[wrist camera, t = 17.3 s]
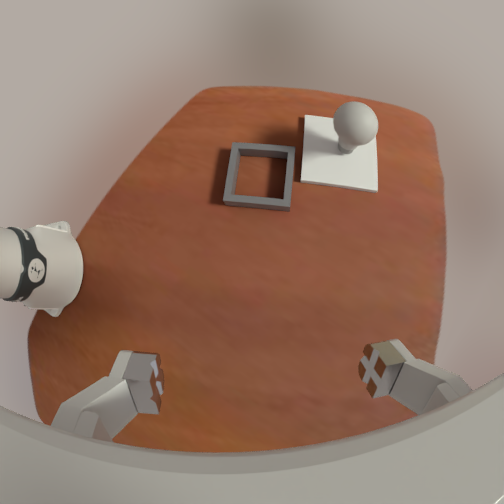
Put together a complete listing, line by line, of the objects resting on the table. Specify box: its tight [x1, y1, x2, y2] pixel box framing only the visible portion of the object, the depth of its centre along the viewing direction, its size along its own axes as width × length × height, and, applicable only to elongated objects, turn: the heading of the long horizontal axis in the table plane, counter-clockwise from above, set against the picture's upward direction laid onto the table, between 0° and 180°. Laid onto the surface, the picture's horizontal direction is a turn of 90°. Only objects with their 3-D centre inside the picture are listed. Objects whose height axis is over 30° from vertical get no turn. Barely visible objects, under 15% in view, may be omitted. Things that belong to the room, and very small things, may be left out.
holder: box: [223, 142, 295, 211], centre depth 40 cm, size 10×10×2 cm
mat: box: [301, 115, 378, 193], centre depth 40 cm, size 12×12×1 cm
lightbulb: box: [333, 102, 378, 154], centre depth 34 cm, size 6×6×11 cm
